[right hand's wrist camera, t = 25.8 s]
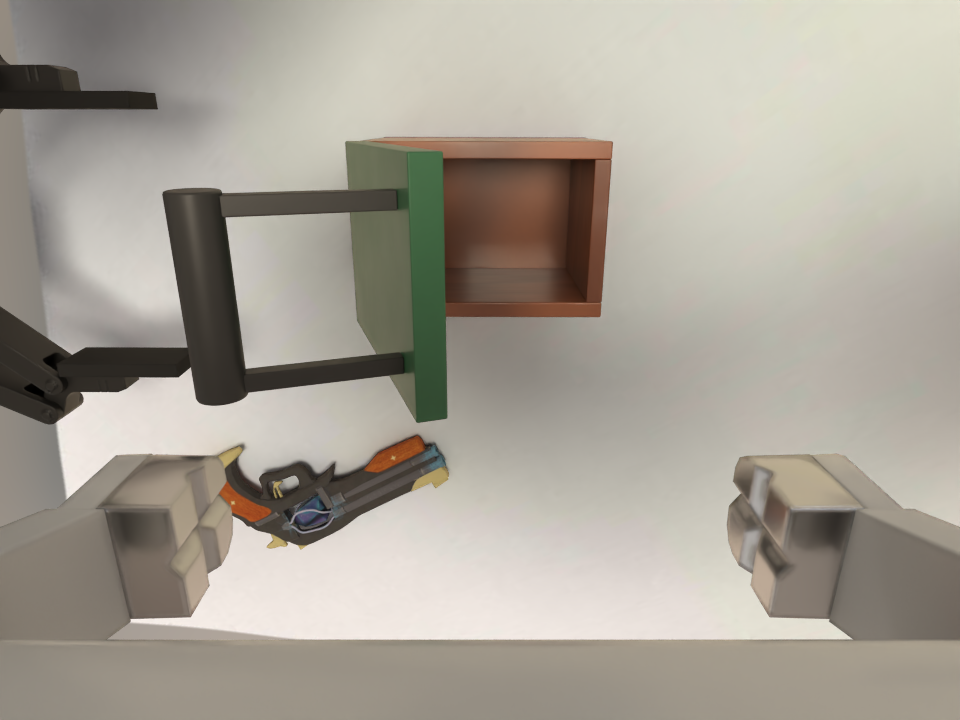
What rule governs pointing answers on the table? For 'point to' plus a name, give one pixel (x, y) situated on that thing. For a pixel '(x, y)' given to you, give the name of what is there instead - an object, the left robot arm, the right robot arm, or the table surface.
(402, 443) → the toy gun
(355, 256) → the lid
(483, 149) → the chest
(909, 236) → the table surface
